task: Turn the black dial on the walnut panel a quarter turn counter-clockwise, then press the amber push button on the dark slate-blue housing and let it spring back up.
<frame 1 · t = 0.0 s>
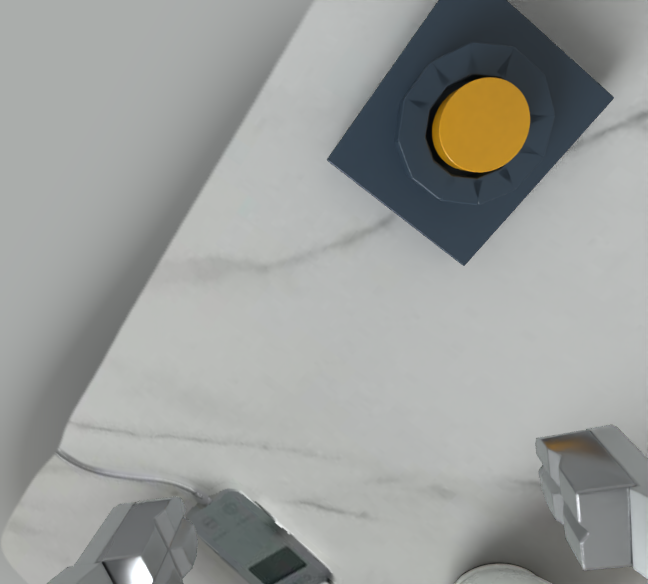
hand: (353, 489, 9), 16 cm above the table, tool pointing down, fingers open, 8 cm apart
button housing: (454, 132, 22), on the table
trigger button: (478, 127, 18), point 4 cm above the table, slide at 0.1 cm
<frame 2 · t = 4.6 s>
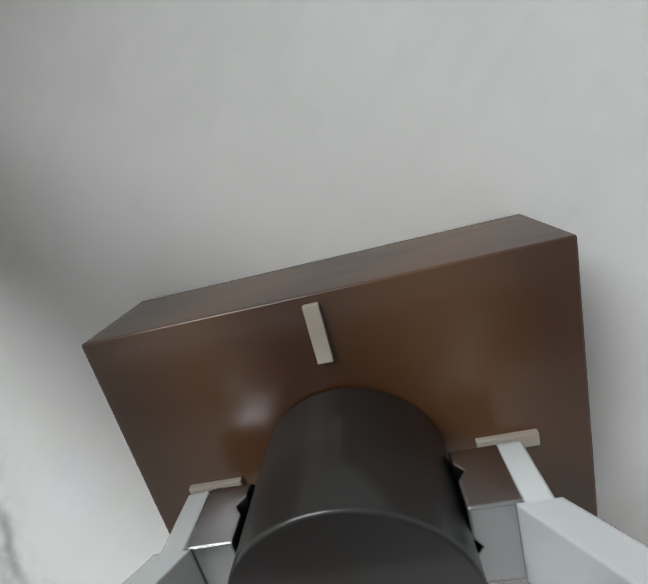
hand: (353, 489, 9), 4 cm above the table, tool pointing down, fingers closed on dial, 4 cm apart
dial: (355, 531, 8), point 5 cm above the table, hinge at 0.0°, touching gripper
dial panel: (354, 396, 13), on the table
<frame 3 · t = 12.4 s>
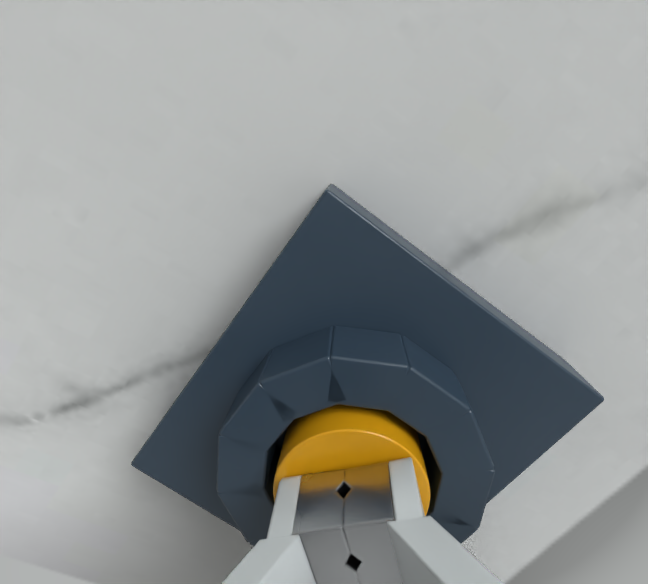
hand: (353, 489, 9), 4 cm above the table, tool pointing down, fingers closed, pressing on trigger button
button housing: (351, 392, 14), on the table
trigger button: (350, 469, 10), point 4 cm above the table, slide at -0.8 cm, touching gripper
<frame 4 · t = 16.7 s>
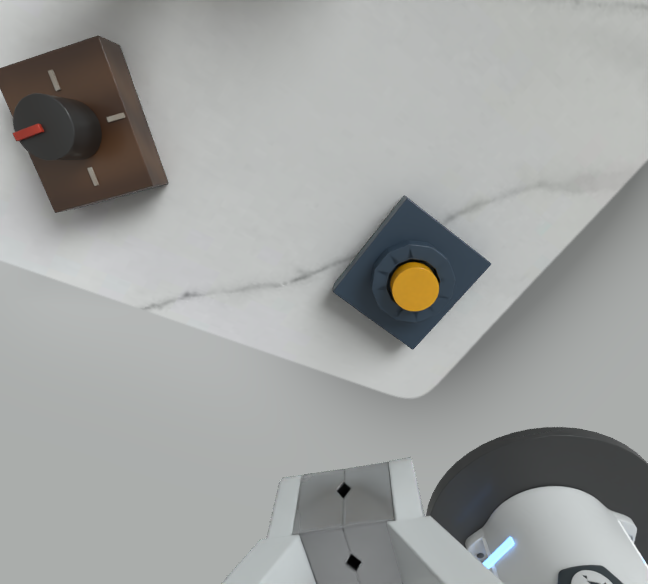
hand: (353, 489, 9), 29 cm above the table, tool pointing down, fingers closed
dial: (58, 128, 31), point 5 cm above the table, hinge at 93.1°
button housing: (407, 271, 38), on the table
dial panel: (97, 131, 36), on the table
trigger button: (414, 286, 33), point 4 cm above the table, slide at 0.1 cm
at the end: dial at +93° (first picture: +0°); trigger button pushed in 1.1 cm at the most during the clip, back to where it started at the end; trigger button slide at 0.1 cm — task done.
